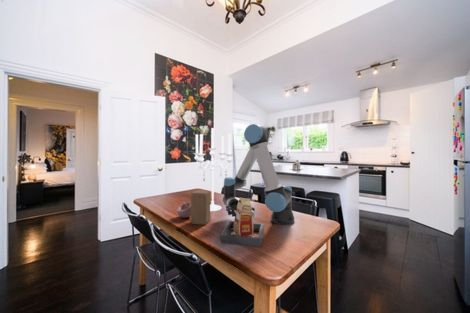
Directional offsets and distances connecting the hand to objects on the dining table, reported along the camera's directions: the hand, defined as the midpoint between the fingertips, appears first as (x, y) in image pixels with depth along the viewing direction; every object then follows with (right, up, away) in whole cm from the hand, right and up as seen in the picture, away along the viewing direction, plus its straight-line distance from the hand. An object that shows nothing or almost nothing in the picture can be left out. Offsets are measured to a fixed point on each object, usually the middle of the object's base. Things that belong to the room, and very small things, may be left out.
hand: (246, 215), depth 99 cm
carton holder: (-1, -12, +5) cm, 13 cm away
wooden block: (-28, -12, +26) cm, 40 cm away
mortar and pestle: (-41, -12, +35) cm, 55 cm away
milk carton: (-1, -11, +5) cm, 12 cm away
